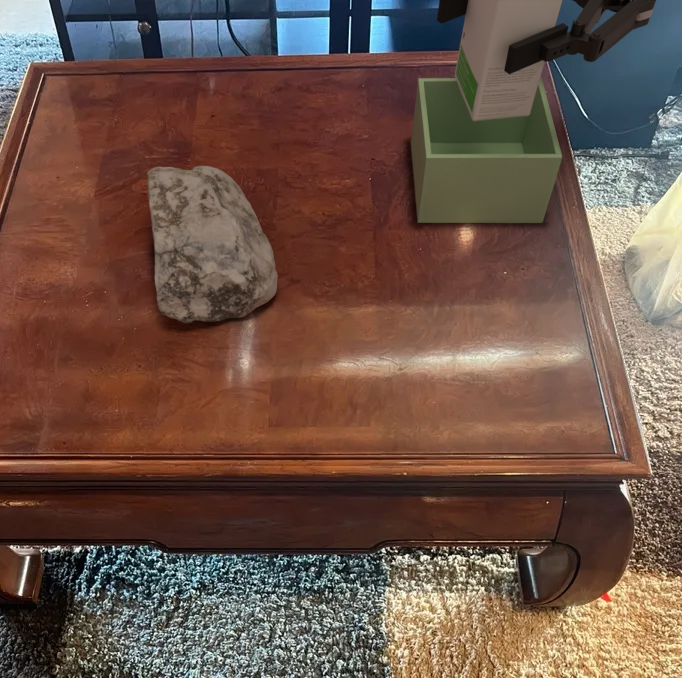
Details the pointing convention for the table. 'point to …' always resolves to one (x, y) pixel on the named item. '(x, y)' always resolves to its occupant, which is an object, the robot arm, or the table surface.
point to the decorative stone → (207, 246)
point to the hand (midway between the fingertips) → (473, 34)
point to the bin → (480, 159)
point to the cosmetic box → (500, 55)
